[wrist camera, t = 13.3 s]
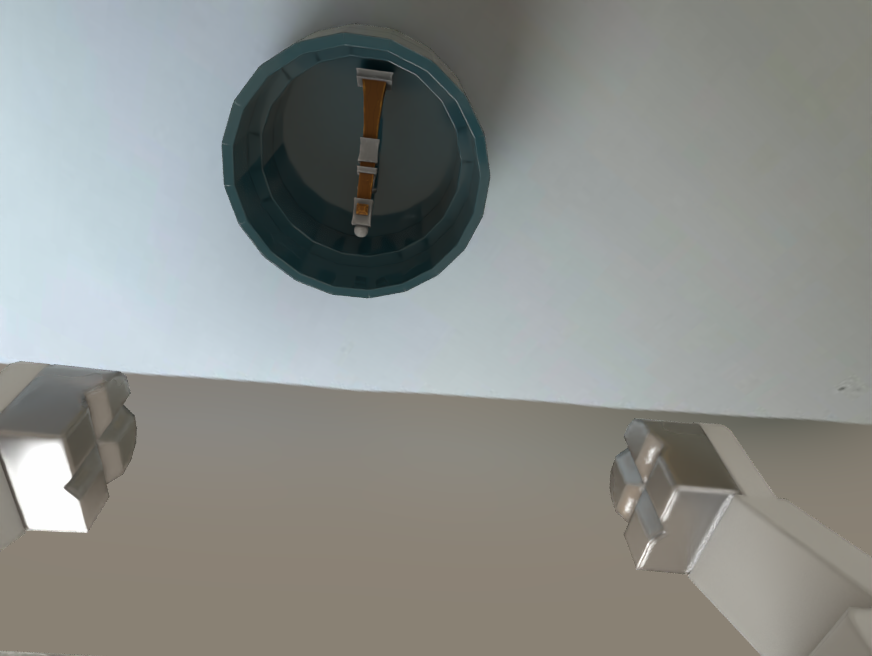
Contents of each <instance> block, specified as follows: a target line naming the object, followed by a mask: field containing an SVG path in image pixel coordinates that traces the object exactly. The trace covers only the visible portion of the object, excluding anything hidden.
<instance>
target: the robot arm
mask: <svg viewBox="0 0 872 656" xmlns="http://www.w3.org/2000/svg"><path fill="white" fill-rule="evenodd" d="M129 395H130V389H129V385H128V380H127V376H125V375H124V374H123V373H121V372H119V371H110V370H101V369H92V368H83V367H74V366H65V365H56V364H54V365H50V364H43V363H34V362H24V361H19V362H15V363H11V364H9V365H8V366H7V367H6V368H5V369H3V371H1V372H0V551H1V550H3V549H4V548H5V547H7V546H8V545H10V544H11V543H12V542H14V541H15V540H17V539H18V538H20V537H21V536H22V535H24V534H25V530H38V531H61V532H88V531H89V530H90V528H91V526H92V525H93V523H94V521H95V520H96V518H97V516H98V515H99V513H100V512H101V510H102V508H103V507H104V505H105V503H106V502H107V500H108V498H109V493H108V489H107V484H108V483H109V482H111V481H113V480H115V479H116V478H118V477H119V476H121V475H123V473H124V472H125V470H126V468H127V466H128V465H129V463H130V461H131V458H132V455H133V451H134V448H135V444H136V431H137V427H136V421H135V416H134V415H133V414H132V413H131V412H130V411H129V410H128V409H127V408H126V407H125V406H124V405H123V404H124V402H125V401H126V399H127V398H128V396H129ZM624 438H625V441H626V443H627V445H628V448H627V449H625V450H624V451H622V452H621V453H620V454H618V455H617V456H616V457H615V460H614V463H613V466H612V469H611V475H610V492H611V499H612V502H613V505H614V508H615V511H616V512H617V513H618V514H619V515H620V516H621V517H622V518H623V519H624V520H625V521H626V522H628V526H627V528H626V530H625V533H624V536H625V539H626V542H627V544H628V547H629V550H630V552H631V555H632V558H633V561H634V563H635V566H636V569H637V570H647V571H657V572H668V573H678V574H689V576H688V578H689V579H690V580H691V581H692V582H693V583H694V584H695V585H696V586H697V587H698V588H699V589H700V590H701V592H702V593H703V594H704V595H705V596H706V597H707V598H708V599H709V600H710V601H711V602H712V603H713V604H714V605H715V607H717V609H718V610H719V611H720V612H721V613H722V614H723V615H724V616H725V617H726V618H727V619H728V620H729V622H731V624H732V625H733V626H734V627H735V628H736V629H737V630H738V631H739V632H740V633H741V634H742V635H743V637H745V639H746V640H747V641H748V642H749V643H750V644H751V645H752V646H753V647H754V648H755V649H756V650H757V652H759V654H760V655H761V656H872V557H871V556H870V555H868V554H867V553H866V552H864V551H863V550H861V549H860V548H858V547H857V546H855V545H854V544H852V543H851V542H849V541H848V540H846V539H845V538H843V537H842V536H840V535H839V534H838V533H836V532H835V531H833V530H832V529H830V528H829V527H827V526H826V525H824V524H823V523H821V522H820V521H818V520H817V519H815V518H814V517H812V516H811V515H809V514H808V513H807V512H805V511H804V510H802V509H801V508H799V507H798V506H796V505H795V504H793V503H792V502H790V501H789V500H787V499H784V498H783V499H782V498H777V497H776V496H775V494H774V493H773V491H772V490H771V488H770V487H769V486H768V484H767V483H766V481H765V480H764V478H763V477H762V475H761V474H760V472H759V471H758V470H757V468H756V467H755V465H754V464H753V462H752V461H751V459H750V458H749V456H748V455H747V453H746V452H745V450H744V449H743V447H742V446H741V445H740V443H739V442H738V440H737V439H736V437H735V436H734V434H733V433H732V432H731V430H730V429H729V428H727V427H726V426H724V425H723V424H708V423H694V422H693V423H682V422H671V421H659V420H647V419H636V418H634V420H633V421H632V422H631V423H630V424H629V425H628V427H627V430H626V432H625V435H624ZM0 656H93V655H71V654H53V653H33V652H13V651H0Z"/></svg>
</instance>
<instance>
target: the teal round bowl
mask: <svg viewBox="0 0 872 656" xmlns="http://www.w3.org/2000/svg"><path fill="white" fill-rule="evenodd" d="M356 68H362V69H369V70H377V71H384V72H391V73H393V84H392V88H391V91H390V90H386V92H385V96H384V100H383V105H382V111H381V117H380V123H379V130H378V139H380V144H379V148H378V158H377V162H378V166H376V165H375V168H377V174H376V177H375V183H374V188H375V189H376V190H377V192H376V193H373V194H372V196H371V200H373V206H372V215H371V227H368V234H367V235H366V236H365V237H358V236H357V235H356V234H355V232H354V228H355V226H356V225H352V223H351V222H352V219H353V210H354V198H357V193H358V189H357V186H358V183H359V174H357V169H358V167H357V166H360V163H358V158H359V154H360V144H361V141H360V137H363V129H364V95H363V87H360V86H358V83H357V77H356V76H357V70H356ZM222 159H223V177H224V185H225V186H224V187H225V189H226V192H227V195H228V197H229V200H230V203H231V205H232V208H233V210H234V213H235V216H236V218H237V221H238V223H239V225H240V227H241V228H242V229H243V231H244V232H245V233H246V234H247V236H248V237H249V238H250V240H251V241H252V242H253V244H254V245H255V246H256V247H257V249H258V250H259V251H260V253H261V254H262V255H263V256H264V257H265V258H266V259H267V260H269V261H270V262H271V263H273V264H274V265H275V266H277V267H278V268H279V269H281V270H282V271H283V272H285V273H286V274H287V275H289V276H290V277H291V278H293V279H294V280H296V281H298V282H301V283H303V284H306V285H308V286H311V287H313V288H316V289H319V290H321V291H324V292H326V293H329V294H332V295H341V296H351V297H361V298H373V297H378V296H384V295H390V294H395V293H401V292H405V291H408V290H410V289H412V288H414V287H416V286H418V285H419V284H421V283H423V282H425V281H427V280H429V279H431V278H433V277H435V276H437V275H439V274H440V273H441V272H442V271H443V270H444V269H445V268H446V267H447V266H448V265H449V264H450V263H451V262H452V261H453V260H454V259H455V258H456V257H457V256H459V255H460V254H461V253H462V252H463V251H464V249H465V248H466V247H467V245H468V243H469V241H470V239H471V237H472V235H473V234H474V232H475V230H476V228H477V226H478V224H479V223H480V221H481V219H482V217H483V214H484V208H485V203H486V198H487V192H488V187H489V181H490V170H489V162H488V155H487V147H486V140H485V135H484V132H483V130H482V128H481V125H480V123H479V121H478V119H477V117H476V115H475V113H474V111H473V109H472V107H471V104H470V102H469V100H468V98H467V96H466V94H465V92H464V90H463V88H462V86H461V84H460V82H459V80H458V77H457V76H456V75H455V74H454V73H453V72H452V71H451V70H450V69H449V67H448V66H447V65H446V64H445V63H444V62H443V61H442V60H441V59H440V58H439V57H438V56H437V55H436V54H435V53H434V52H433V51H432V50H431V49H430V48H429V47H427V46H425V45H423V44H422V43H420V42H418V41H416V40H414V39H412V38H410V37H408V36H406V35H405V34H403V33H401V32H399V31H397V30H394V29H391V28H384V27H377V26H371V25H364V24H357V23H355V24H348V25H344V26H339V27H334V28H329V29H325V30H320V31H317V32H314V33H312V34H311V35H309V36H307V37H305V38H303V39H301V40H300V41H298V42H296V43H294V44H293V45H291V46H290V47H288V48H287V49H285V50H284V51H282V52H280V53H279V54H277V55H276V56H274V57H273V58H271V59H270V60H268V61H266V62H265V63H263V64H262V65H261V66H260V67H258V69H257V70H256V71H255V73H254V74H253V76H252V77H251V78H250V80H249V81H248V82H247V84H246V85H245V86H244V88H243V89H242V91H241V92H240V93H239V95H238V96H237V97H236V99H235V100H234V102H233V105H232V108H231V112H230V115H229V119H228V122H227V126H226V129H225V133H224V136H223V140H222Z"/></svg>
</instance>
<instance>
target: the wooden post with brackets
mask: <svg viewBox="0 0 872 656" xmlns="http://www.w3.org/2000/svg"><path fill="white" fill-rule="evenodd" d="M356 70H357V76H356V77H357V83H358V86H360V87H363V95H364V129H363V137H360V141H361V144H360V154H359V158H358V163H360V166H357V167H358V169H357V174H359V183H358V186H357V189H358V193H357V198H354V210H353V219H352V222H351V223H352V225H356V226H355V228H354V232H355V234H356V235H357V236H358V237H365V236H366V235H367V234H368V227H371V215H372V206H373V200H371V196H372V194H373V193H376V192H377V190H376V189H375V188H374V183H375V177H376V174H377V168H375V165H376V166H378V162H377V158H378V148H379V144H380V139H378V130H379V123H380V117H381V111H382V105H383V100H384V96H385V92H386V90H390V91H391V88H392V84H393V73H391V72H384V71H377V70H369V69H362V68H356Z"/></svg>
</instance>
